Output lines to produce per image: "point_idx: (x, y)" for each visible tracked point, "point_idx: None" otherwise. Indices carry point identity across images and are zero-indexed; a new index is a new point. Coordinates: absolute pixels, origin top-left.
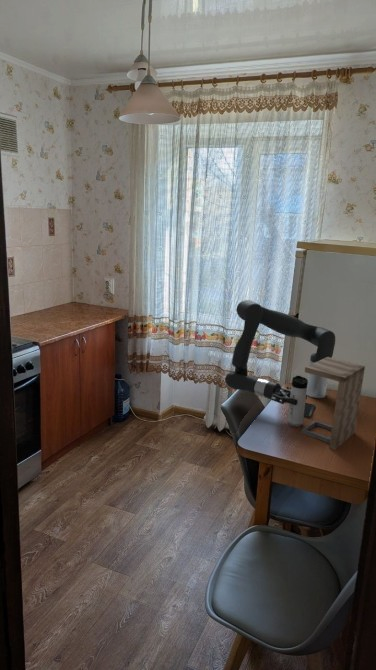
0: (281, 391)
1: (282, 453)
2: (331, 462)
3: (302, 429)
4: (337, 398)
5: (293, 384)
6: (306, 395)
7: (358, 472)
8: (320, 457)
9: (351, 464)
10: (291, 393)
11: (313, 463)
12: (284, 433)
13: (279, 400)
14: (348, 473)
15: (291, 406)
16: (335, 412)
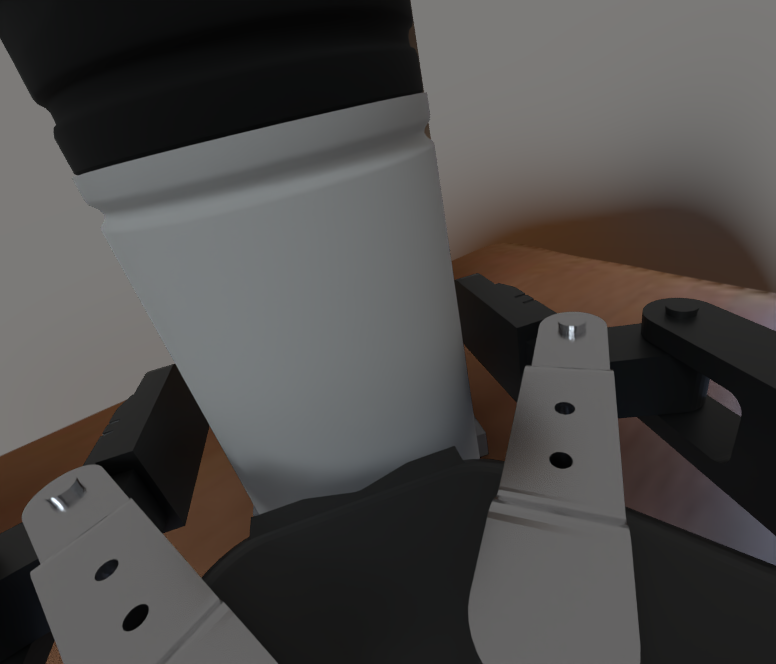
0: (606, 520)
1: (758, 319)
2: (529, 277)
3: (481, 429)
4: (413, 39)
5: (403, 28)
6: (174, 366)
7: (482, 254)
8: (552, 294)
9: (468, 271)
10: (444, 285)
11: (610, 275)
12: (649, 482)
13: (740, 457)
14: (517, 251)
15: (477, 447)
16: (429, 136)
